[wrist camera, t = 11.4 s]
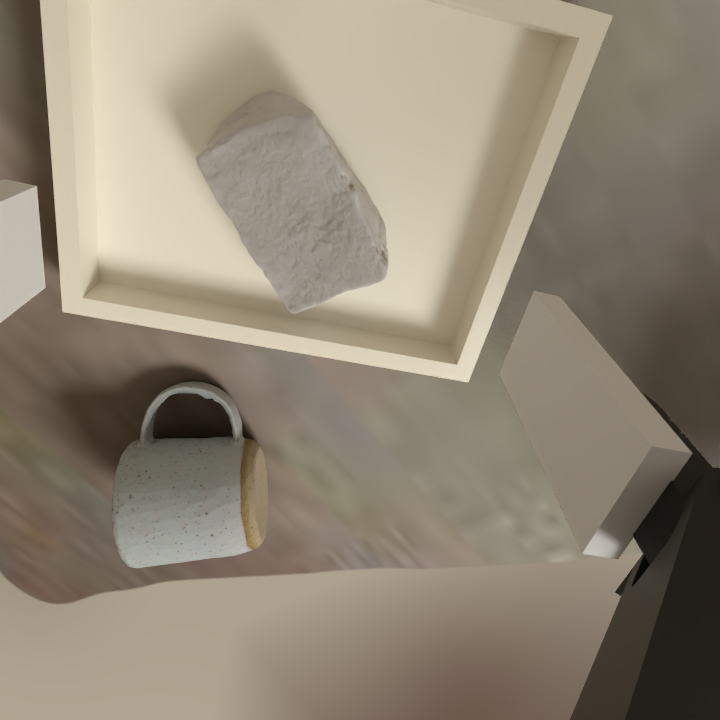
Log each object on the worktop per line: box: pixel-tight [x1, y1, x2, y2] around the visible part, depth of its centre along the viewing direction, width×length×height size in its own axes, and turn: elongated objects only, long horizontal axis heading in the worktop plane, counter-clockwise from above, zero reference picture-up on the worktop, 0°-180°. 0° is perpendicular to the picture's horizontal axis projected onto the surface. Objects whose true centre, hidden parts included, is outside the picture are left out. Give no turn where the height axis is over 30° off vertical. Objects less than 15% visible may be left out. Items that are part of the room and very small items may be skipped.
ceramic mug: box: [112, 382, 269, 568], centre depth 32 cm, size 11×8×8 cm
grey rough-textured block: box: [196, 90, 389, 314], centre depth 25 cm, size 10×6×6 cm, turn 22°
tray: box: [40, 0, 613, 382], centre depth 25 cm, size 22×18×3 cm
